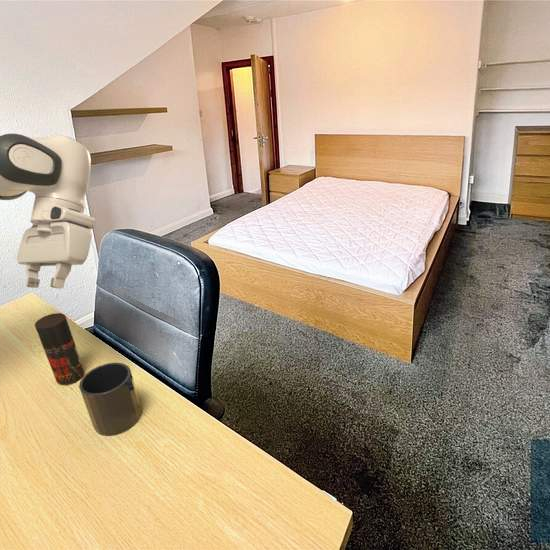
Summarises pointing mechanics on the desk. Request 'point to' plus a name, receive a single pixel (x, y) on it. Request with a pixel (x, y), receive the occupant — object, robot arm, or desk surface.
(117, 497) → the desk surface
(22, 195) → the robot arm
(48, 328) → the deodorant
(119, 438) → the desk surface
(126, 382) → the pen pot
